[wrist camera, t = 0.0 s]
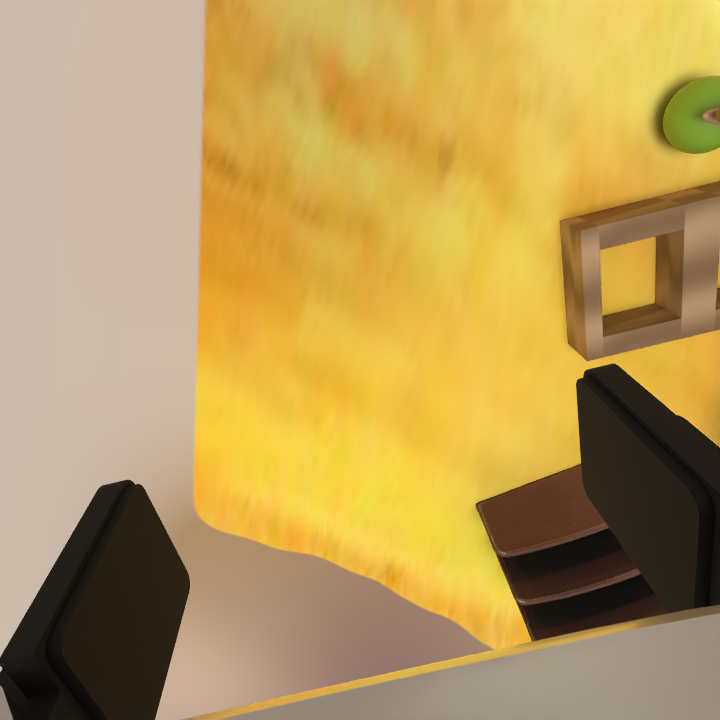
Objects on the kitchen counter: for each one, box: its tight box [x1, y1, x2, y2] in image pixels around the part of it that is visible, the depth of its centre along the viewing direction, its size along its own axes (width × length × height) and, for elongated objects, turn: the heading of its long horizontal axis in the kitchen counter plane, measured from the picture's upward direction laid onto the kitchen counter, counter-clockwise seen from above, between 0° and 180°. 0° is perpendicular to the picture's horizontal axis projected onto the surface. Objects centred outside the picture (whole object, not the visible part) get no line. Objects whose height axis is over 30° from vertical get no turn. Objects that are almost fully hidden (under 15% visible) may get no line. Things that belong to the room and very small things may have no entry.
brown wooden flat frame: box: [560, 182, 720, 361], centre depth 47 cm, size 12×20×4 cm, turn 103°
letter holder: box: [476, 465, 669, 642], centre depth 54 cm, size 10×20×14 cm, turn 113°
